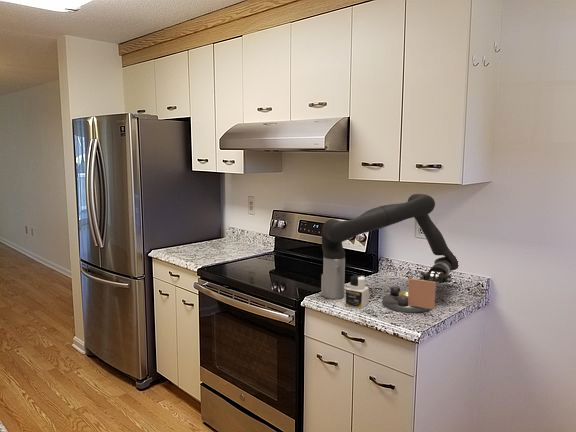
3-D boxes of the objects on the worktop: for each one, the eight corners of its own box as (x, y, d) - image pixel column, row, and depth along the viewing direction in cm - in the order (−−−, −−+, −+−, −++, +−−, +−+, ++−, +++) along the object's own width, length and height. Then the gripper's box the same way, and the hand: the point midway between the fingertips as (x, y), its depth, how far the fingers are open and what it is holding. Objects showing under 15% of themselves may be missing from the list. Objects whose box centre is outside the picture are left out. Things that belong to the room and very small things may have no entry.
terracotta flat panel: (396, 304, 182) (397, 278, 181) (399, 302, 186) (400, 276, 184) (433, 310, 176) (434, 283, 174) (435, 307, 179) (436, 280, 178)
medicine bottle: (345, 305, 188) (345, 276, 187) (352, 300, 194) (353, 273, 193) (361, 308, 185) (362, 279, 183) (368, 304, 190) (369, 275, 189)
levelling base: (375, 307, 186) (376, 294, 185) (390, 294, 203) (390, 282, 202) (426, 316, 176) (427, 302, 175) (437, 301, 194) (437, 289, 193)
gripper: (424, 262, 202) (414, 271, 187) (456, 265, 195) (448, 275, 180) (423, 278, 203) (414, 289, 188) (455, 282, 196) (448, 293, 181)
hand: (431, 282), depth 184 cm, fingers closed
